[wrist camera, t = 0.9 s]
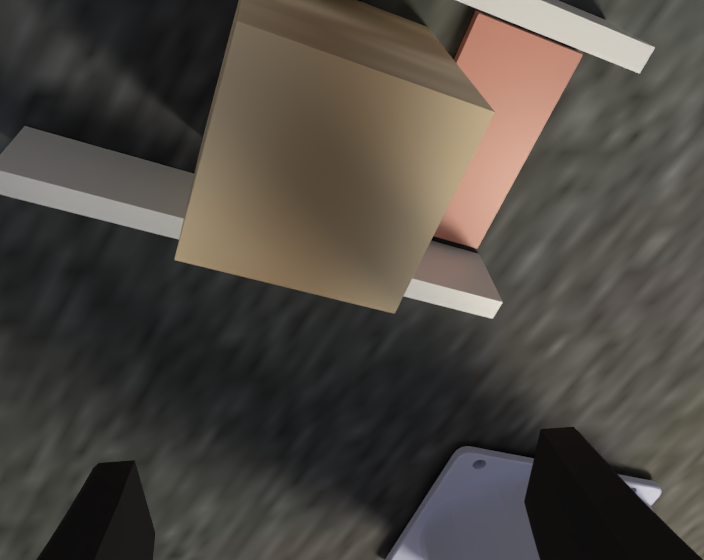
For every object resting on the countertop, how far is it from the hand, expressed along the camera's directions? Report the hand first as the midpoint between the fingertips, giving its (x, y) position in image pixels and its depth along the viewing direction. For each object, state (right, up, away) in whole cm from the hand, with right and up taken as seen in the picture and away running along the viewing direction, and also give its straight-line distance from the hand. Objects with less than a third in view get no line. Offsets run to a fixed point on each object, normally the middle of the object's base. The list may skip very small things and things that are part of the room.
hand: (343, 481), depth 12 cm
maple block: (-1, +9, +5) cm, 10 cm away
